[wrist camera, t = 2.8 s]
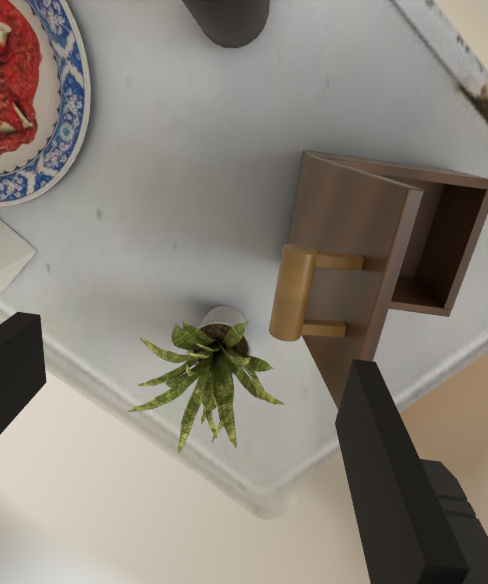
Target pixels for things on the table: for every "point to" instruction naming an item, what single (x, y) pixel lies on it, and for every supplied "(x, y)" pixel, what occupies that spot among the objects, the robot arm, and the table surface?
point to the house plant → (210, 369)
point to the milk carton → (12, 255)
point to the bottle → (230, 19)
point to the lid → (342, 265)
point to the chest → (427, 230)
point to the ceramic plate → (40, 96)
